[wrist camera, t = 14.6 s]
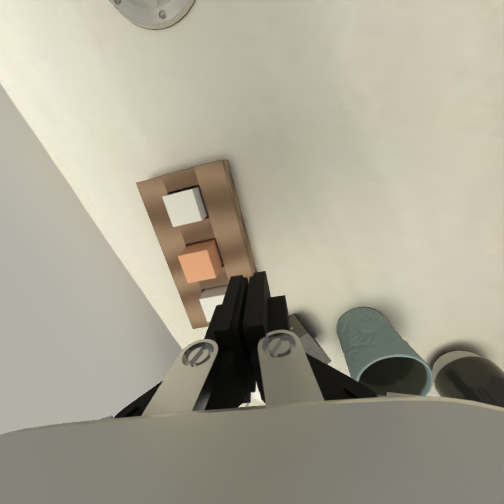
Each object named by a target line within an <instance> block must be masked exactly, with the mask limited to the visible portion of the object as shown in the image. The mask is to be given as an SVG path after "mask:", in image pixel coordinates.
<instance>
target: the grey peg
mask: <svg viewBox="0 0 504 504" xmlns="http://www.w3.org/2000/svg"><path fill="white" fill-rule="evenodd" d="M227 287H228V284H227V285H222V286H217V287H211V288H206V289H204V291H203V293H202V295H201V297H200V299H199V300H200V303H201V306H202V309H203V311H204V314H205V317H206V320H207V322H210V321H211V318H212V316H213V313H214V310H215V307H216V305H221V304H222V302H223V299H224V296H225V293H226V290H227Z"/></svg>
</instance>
